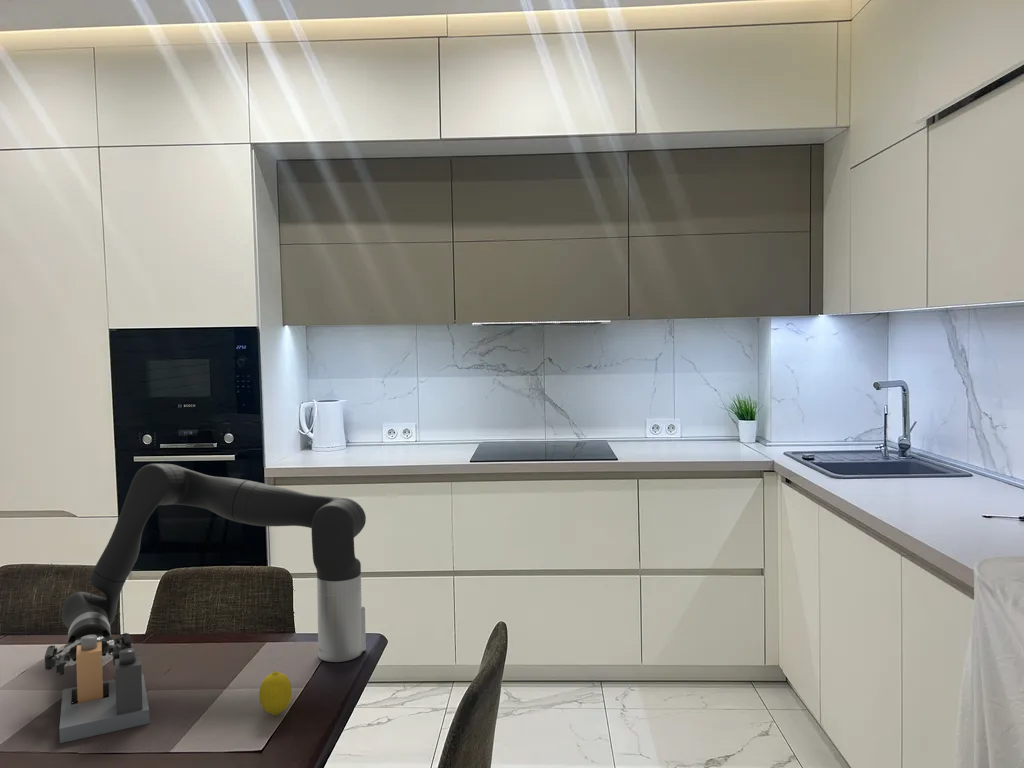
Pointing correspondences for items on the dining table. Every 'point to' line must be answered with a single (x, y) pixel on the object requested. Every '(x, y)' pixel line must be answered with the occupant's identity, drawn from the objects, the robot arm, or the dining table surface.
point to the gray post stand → (108, 703)
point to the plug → (89, 669)
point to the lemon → (275, 693)
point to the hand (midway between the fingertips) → (89, 664)
